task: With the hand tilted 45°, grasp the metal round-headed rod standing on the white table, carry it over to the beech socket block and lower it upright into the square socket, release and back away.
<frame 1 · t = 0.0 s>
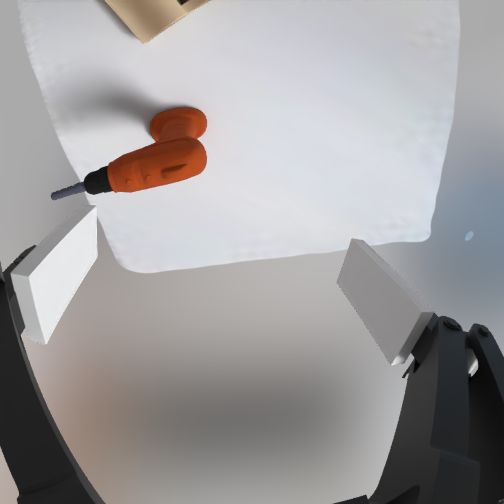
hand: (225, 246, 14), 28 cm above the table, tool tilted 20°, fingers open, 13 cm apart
toy drill: (148, 130, 36), on the table
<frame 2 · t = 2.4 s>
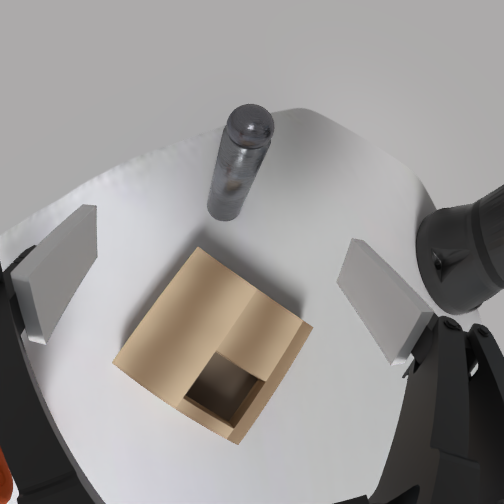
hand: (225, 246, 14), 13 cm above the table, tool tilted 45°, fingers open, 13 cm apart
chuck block: (212, 348, 25), on the table
toy drill: (11, 380, 19), on the table
metal round-headed rod: (223, 205, 30), on the table
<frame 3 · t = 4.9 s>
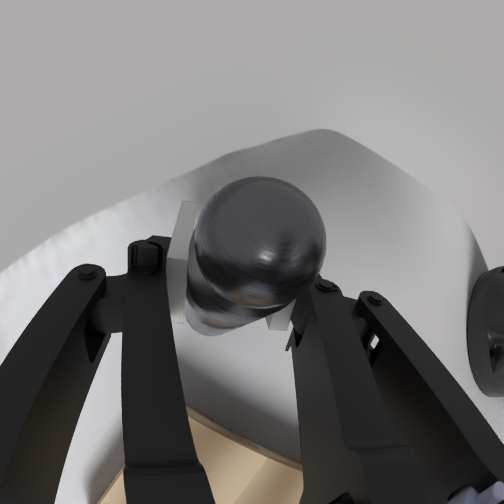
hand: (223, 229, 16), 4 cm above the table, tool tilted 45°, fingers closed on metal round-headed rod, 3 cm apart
metal round-headed rod: (210, 309, 18), on the table, touching gripper
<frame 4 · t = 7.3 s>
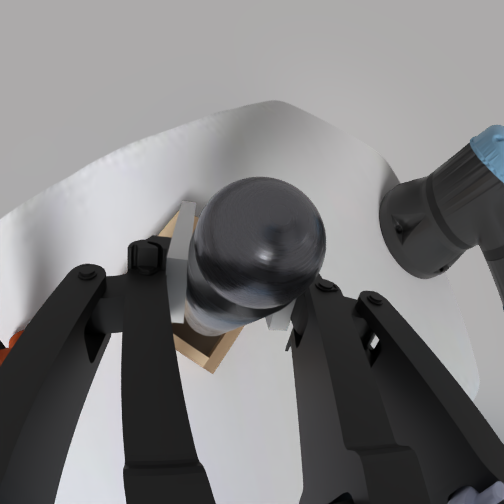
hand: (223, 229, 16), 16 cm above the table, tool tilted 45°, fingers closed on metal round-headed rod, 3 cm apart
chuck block: (193, 292, 31), on the table
metal round-headed rod: (210, 309, 18), point 12 cm above the table, touching gripper
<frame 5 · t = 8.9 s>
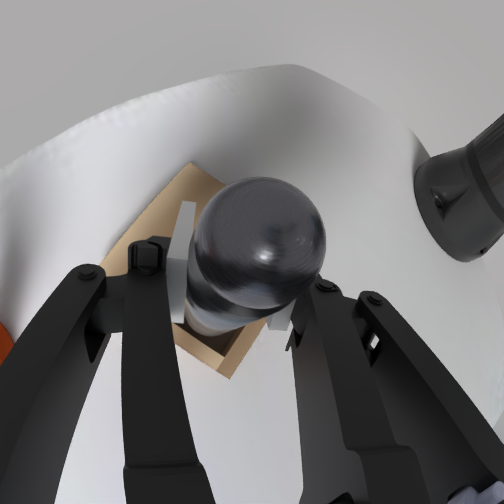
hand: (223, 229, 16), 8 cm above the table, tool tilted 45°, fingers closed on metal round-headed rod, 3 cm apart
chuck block: (202, 271, 24), on the table
metal round-headed rod: (210, 309, 18), point 5 cm above the table, touching gripper
when the fingers open (5 cm above the table, at t = 9.9 s): metal round-headed rod drops 1 cm, resting on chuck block.
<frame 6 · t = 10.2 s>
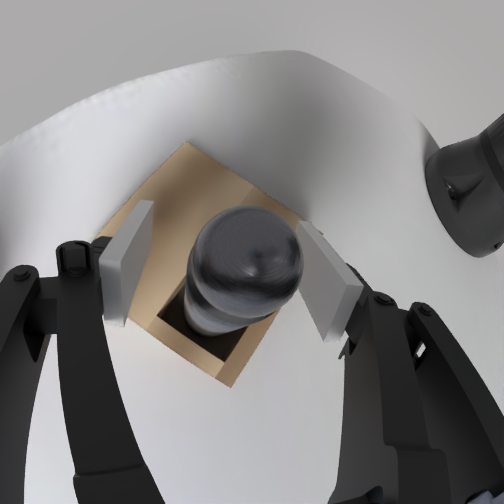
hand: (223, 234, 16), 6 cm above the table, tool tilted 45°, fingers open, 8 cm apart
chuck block: (199, 263, 21), on the table
metal round-headed rod: (208, 312, 20), resting on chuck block
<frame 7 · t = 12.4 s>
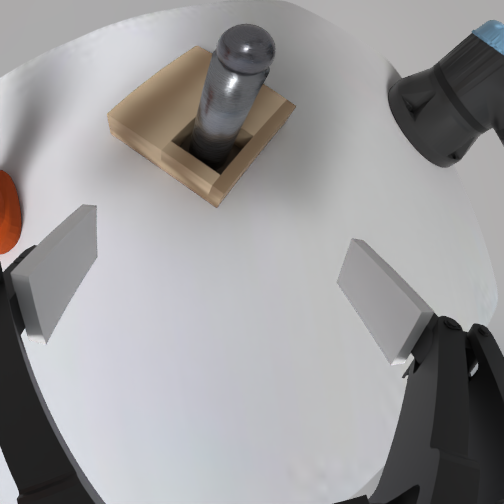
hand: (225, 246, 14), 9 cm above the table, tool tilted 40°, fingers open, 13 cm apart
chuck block: (201, 124, 25), on the table
metal round-headed rod: (207, 153, 24), resting on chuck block
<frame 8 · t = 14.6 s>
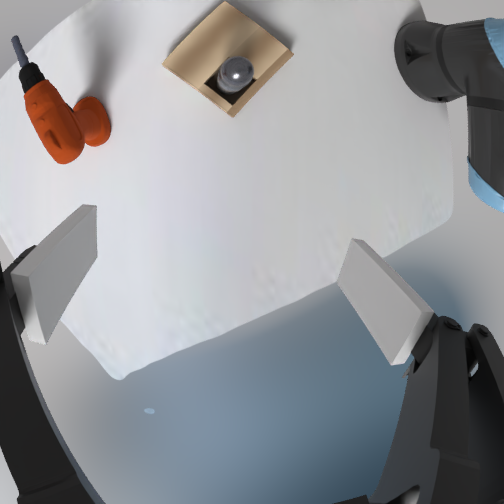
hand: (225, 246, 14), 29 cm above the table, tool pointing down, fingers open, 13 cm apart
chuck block: (227, 59, 34), on the table
toy drill: (82, 96, 33), on the table
metal round-headed rod: (229, 83, 35), resting on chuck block
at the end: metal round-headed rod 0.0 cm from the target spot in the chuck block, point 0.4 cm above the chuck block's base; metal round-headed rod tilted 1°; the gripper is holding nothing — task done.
